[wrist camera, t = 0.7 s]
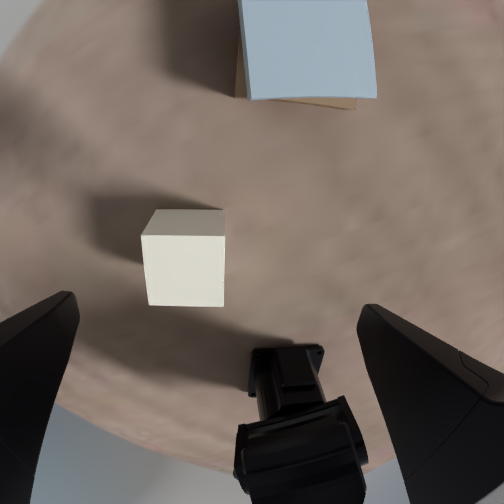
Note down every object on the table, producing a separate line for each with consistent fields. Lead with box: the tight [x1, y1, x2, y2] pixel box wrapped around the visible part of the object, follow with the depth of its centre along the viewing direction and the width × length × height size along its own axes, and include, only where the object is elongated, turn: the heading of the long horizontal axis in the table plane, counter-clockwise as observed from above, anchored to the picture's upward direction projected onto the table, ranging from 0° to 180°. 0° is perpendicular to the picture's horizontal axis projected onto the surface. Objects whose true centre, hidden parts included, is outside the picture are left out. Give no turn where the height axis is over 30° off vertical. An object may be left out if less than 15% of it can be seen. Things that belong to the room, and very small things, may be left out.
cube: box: [141, 209, 225, 307], centre depth 19 cm, size 4×4×4 cm
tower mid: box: [238, 0, 377, 101], centre depth 13 cm, size 6×6×2 cm
